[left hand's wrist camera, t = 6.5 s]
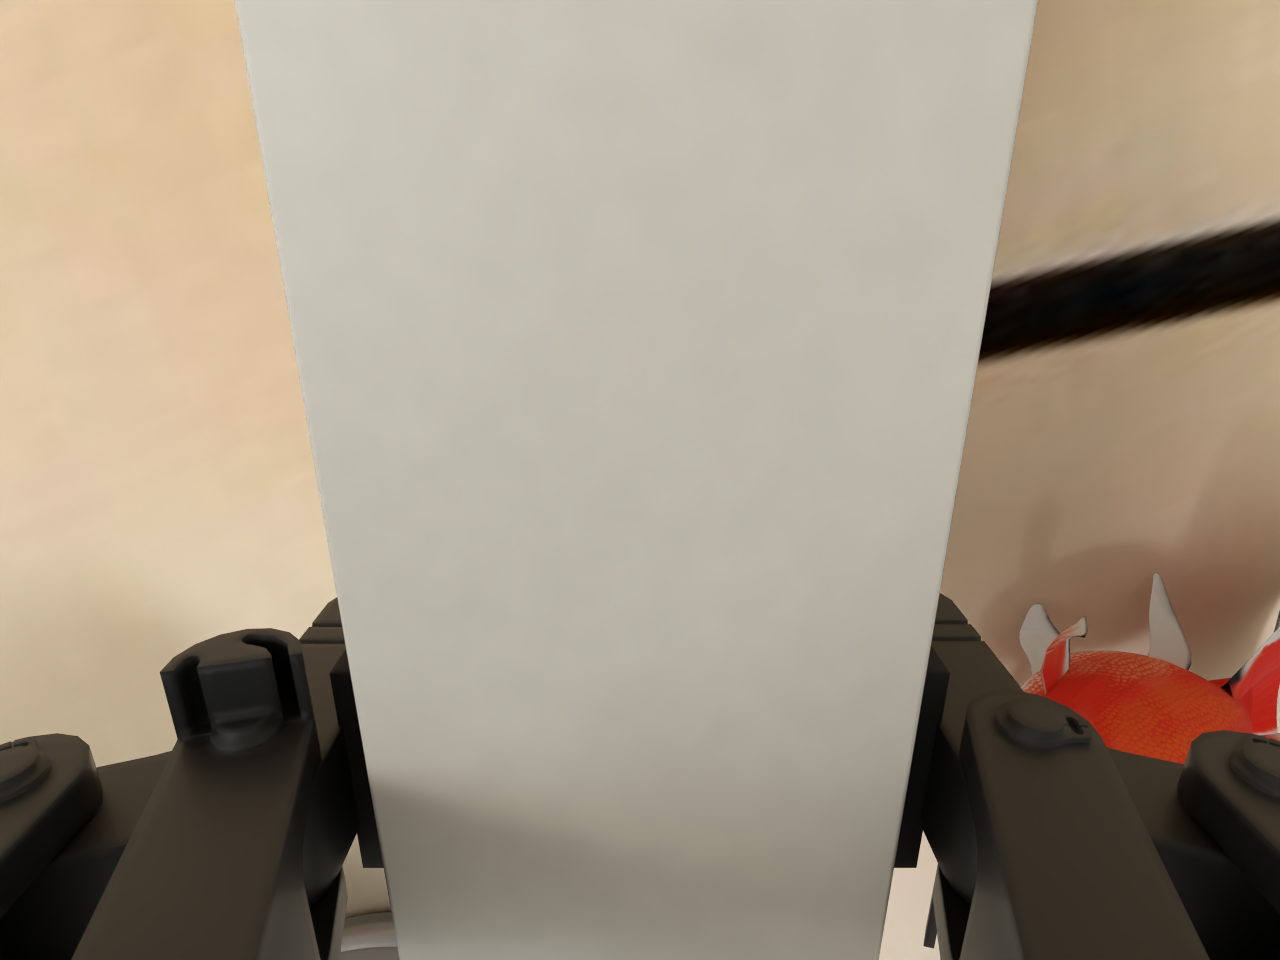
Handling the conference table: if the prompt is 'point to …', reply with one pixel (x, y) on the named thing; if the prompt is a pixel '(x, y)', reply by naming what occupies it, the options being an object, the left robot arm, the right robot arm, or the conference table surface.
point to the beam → (637, 439)
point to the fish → (1151, 685)
